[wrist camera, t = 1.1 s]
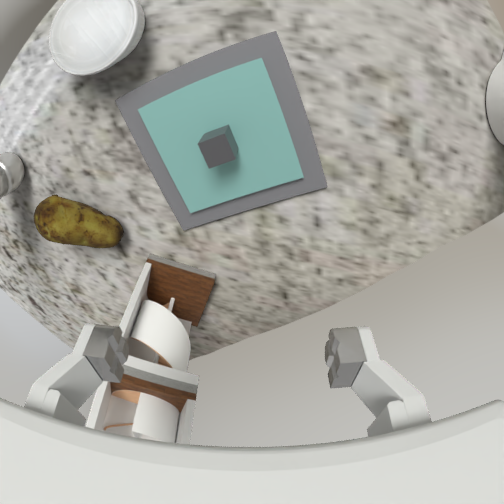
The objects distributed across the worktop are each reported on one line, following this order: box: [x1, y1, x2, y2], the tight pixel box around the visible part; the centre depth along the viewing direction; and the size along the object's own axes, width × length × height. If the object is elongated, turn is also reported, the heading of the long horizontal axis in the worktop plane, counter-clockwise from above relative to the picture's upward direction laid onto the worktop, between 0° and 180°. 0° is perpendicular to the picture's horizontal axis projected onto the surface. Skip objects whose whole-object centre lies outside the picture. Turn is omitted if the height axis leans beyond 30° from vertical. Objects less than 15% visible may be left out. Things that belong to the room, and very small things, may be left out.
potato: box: [34, 195, 124, 248], centre depth 37 cm, size 8×13×8 cm, turn 40°
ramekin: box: [49, 0, 145, 76], centre depth 23 cm, size 11×11×5 cm
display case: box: [86, 254, 216, 444], centre depth 35 cm, size 11×11×35 cm
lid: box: [138, 58, 304, 213], centre depth 31 cm, size 15×15×5 cm
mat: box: [115, 31, 327, 230], centre depth 34 cm, size 20×20×1 cm
